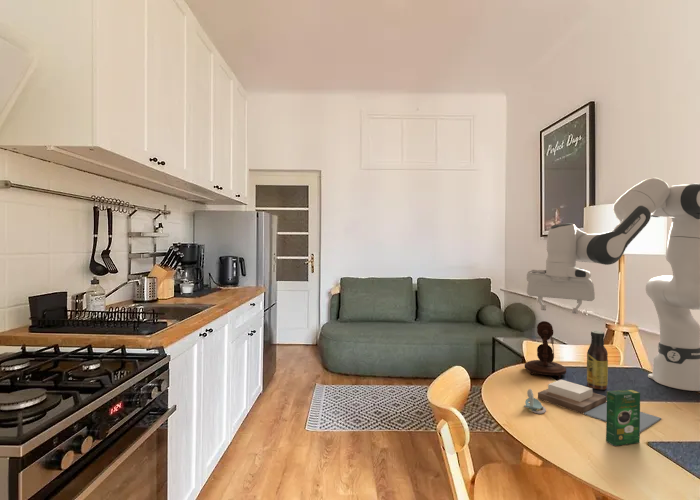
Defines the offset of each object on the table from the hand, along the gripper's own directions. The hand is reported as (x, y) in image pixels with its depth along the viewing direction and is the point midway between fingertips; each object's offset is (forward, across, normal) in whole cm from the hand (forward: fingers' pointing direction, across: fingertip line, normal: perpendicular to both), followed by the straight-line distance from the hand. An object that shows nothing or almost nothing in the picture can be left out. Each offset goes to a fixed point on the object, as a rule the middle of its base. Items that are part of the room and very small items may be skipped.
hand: (558, 311), depth 130 cm
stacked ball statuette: (+28, -5, +22) cm, 36 cm away
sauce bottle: (+28, +12, +14) cm, 33 cm away
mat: (+28, +18, -10) cm, 34 cm away
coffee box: (+28, +17, -28) cm, 43 cm away
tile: (+26, +4, -4) cm, 26 cm away
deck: (+28, +5, -4) cm, 29 cm away
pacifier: (+29, -5, -18) cm, 34 cm away
